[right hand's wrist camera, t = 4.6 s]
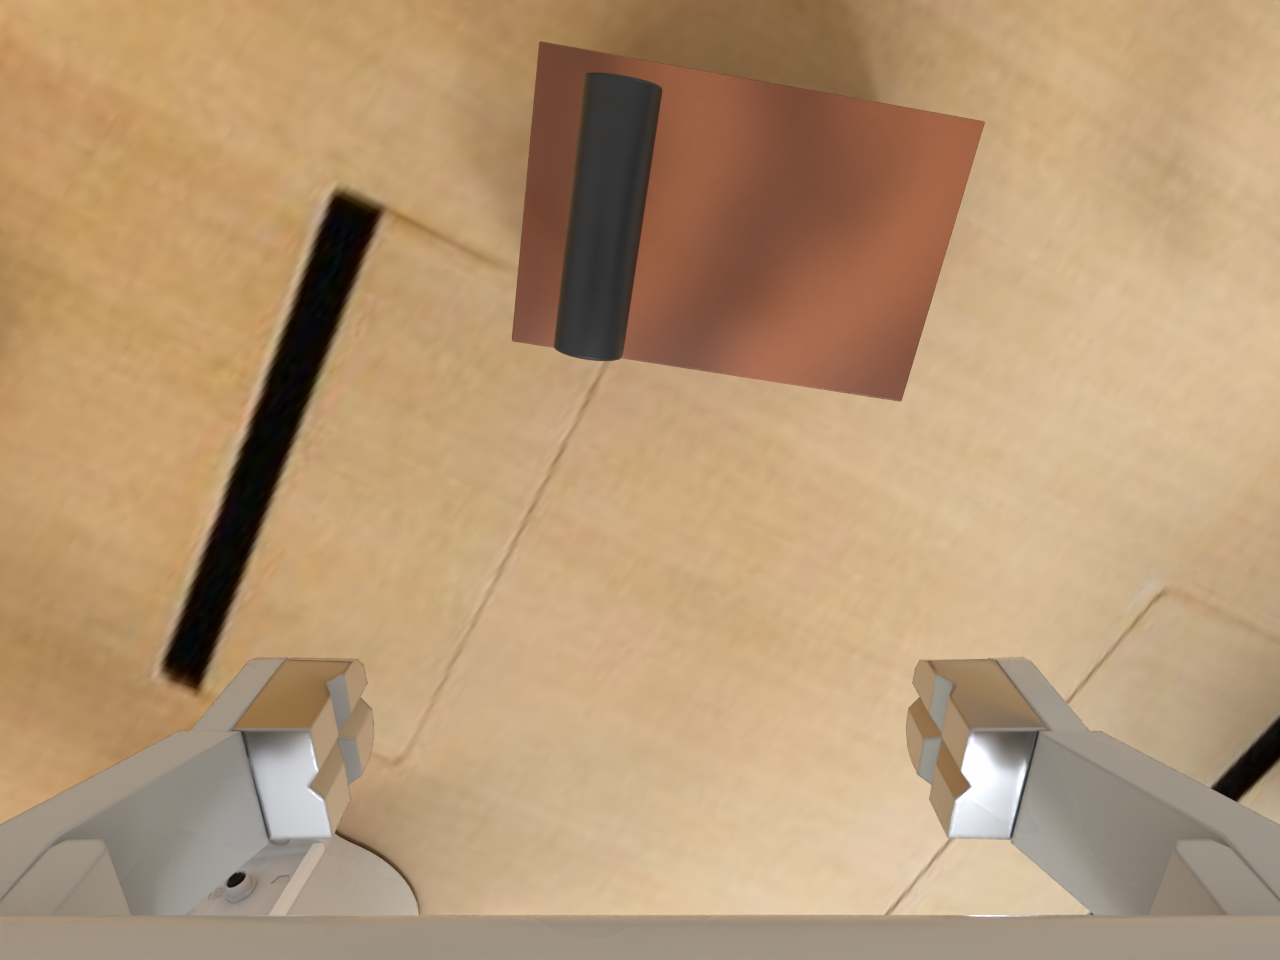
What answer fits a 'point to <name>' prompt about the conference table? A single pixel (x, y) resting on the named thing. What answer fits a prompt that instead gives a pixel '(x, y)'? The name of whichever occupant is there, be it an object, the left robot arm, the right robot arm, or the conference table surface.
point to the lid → (733, 223)
